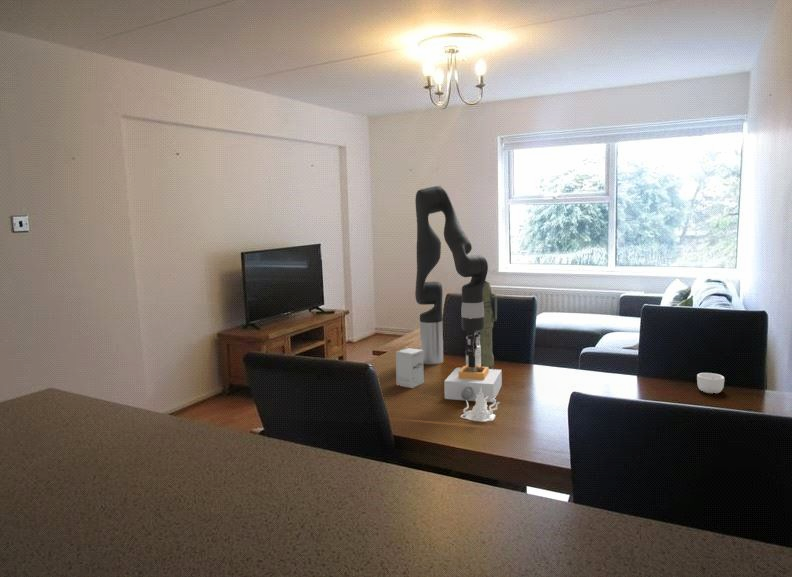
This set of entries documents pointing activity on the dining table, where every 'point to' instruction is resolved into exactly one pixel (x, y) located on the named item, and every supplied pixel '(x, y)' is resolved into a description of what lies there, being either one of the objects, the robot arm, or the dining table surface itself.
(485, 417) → the tentacle sculpture
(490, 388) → the white square box
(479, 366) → the shiny metal cylinder
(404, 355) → the supplement box
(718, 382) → the teacup
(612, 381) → the dining table surface
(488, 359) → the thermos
